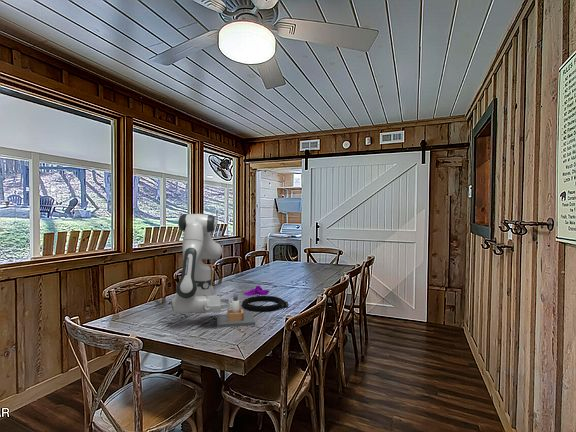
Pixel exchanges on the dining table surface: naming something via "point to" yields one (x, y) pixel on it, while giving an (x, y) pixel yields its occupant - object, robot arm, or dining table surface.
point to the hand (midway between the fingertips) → (229, 303)
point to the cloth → (256, 291)
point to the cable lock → (278, 306)
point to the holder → (235, 319)
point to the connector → (235, 304)
